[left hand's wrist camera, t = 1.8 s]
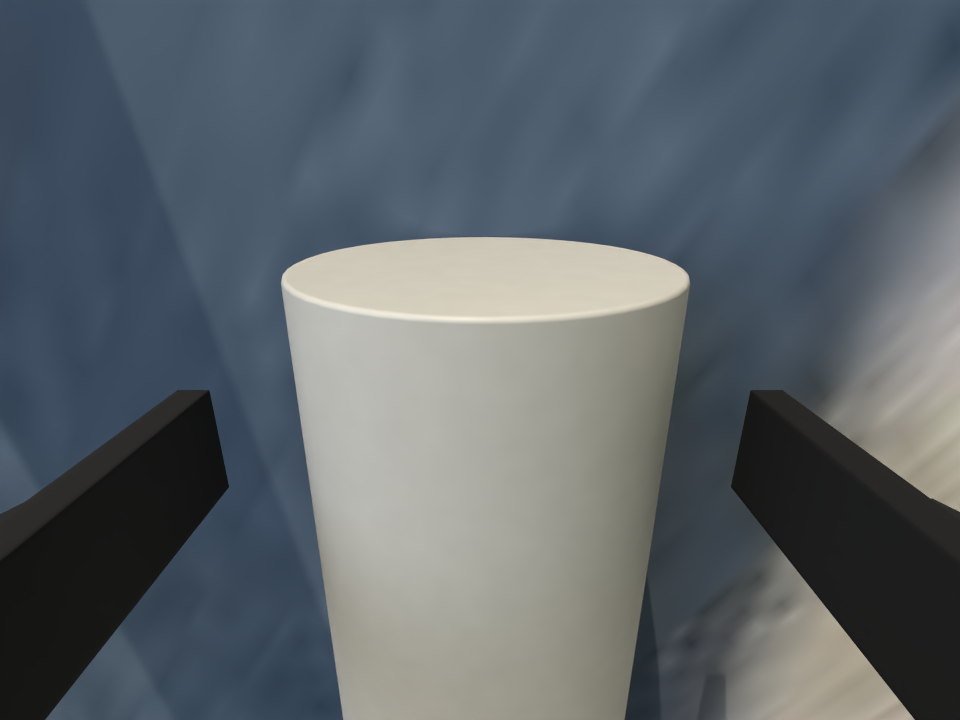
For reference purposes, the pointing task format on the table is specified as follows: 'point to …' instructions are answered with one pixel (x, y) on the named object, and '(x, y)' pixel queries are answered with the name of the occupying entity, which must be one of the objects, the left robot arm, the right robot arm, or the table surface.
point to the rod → (484, 467)
